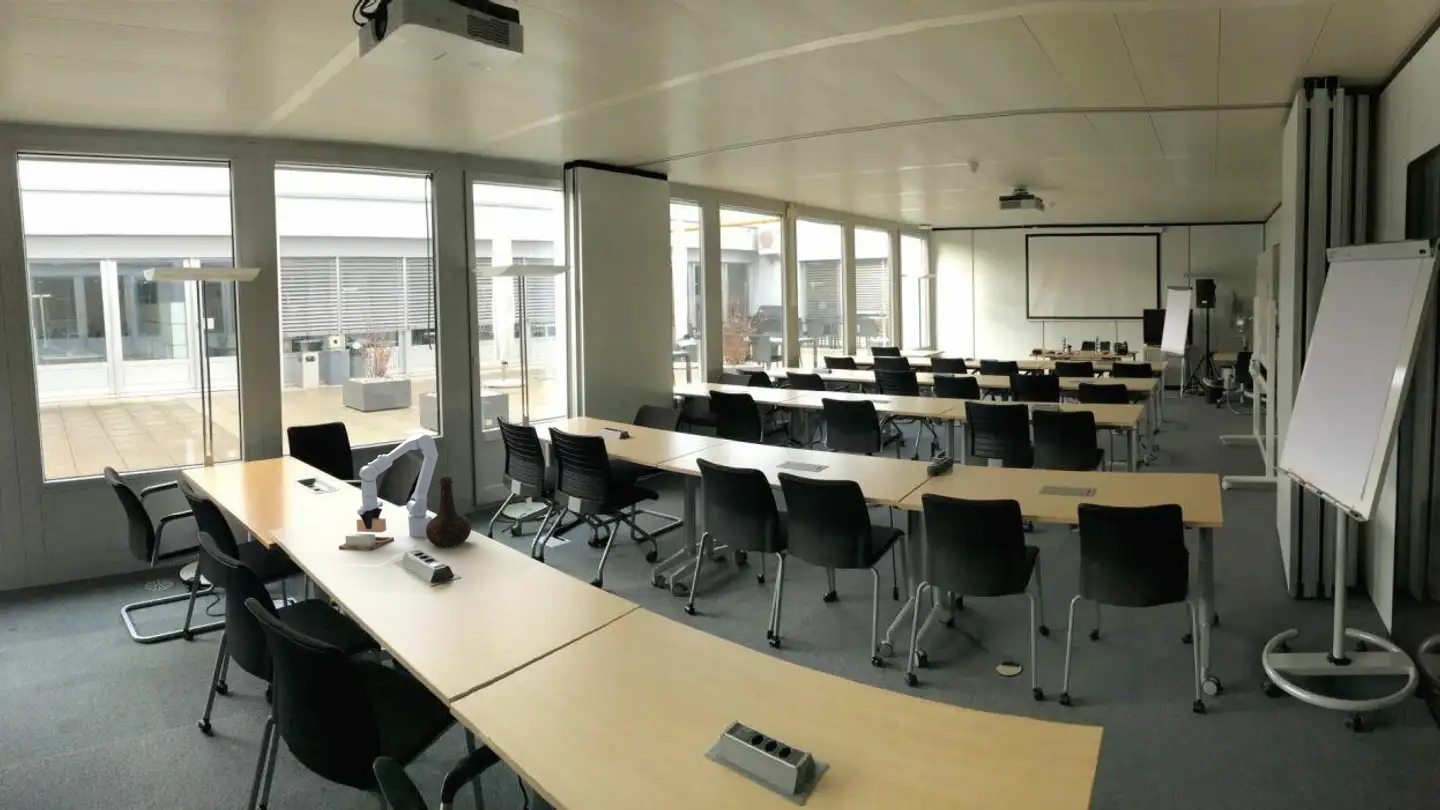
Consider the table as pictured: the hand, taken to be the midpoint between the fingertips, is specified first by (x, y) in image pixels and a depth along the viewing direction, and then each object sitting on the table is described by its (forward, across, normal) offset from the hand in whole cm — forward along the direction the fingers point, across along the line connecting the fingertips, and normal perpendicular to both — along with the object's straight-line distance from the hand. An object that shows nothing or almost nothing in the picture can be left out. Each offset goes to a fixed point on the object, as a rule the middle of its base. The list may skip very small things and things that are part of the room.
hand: (371, 527), depth 352 cm
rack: (+7, +4, 0) cm, 8 cm away
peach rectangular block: (+1, 0, 0) cm, 1 cm away
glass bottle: (+7, -3, +33) cm, 34 cm away
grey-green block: (+6, +8, 0) cm, 10 cm away
